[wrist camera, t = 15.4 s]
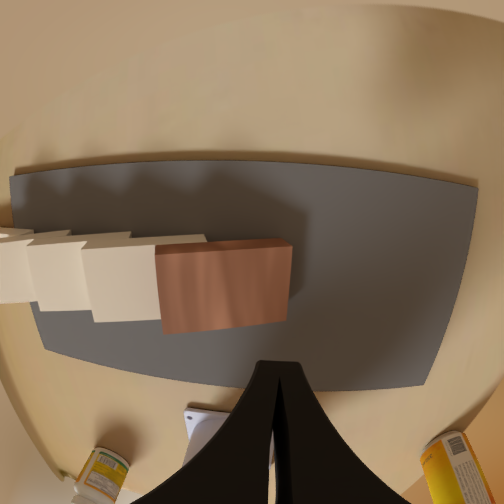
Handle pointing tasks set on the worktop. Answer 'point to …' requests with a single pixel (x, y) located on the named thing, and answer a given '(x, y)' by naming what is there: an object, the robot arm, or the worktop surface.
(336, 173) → the charcoal mat
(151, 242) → the ivory domino
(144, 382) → the worktop surface
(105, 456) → the supplement bottle
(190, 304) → the terracotta domino
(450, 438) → the beer can
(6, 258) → the ivory domino
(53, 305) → the ivory domino
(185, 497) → the robot arm
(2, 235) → the ivory domino
